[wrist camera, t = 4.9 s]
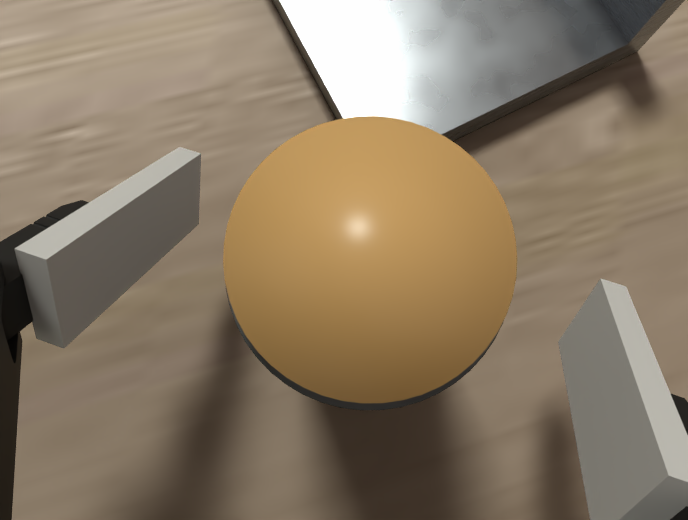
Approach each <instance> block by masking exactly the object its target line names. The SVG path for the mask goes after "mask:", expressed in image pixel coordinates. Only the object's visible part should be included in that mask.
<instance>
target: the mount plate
mask: <svg viewBox="0 0 688 520" xmlns="http://www.w3.org/2000/svg"><path fill="white" fill-rule="evenodd" d="M684 1H685V0H273V2H274V4H275V6H276V8H277V10H278V11H279V13H280V15H281V17H282V19H283V21H284V23H285V24H286V26H287V28H288V30H289V32H290V34H291V36H292V37H293V39H294V41H295V43H296V45H297V47H298V48H299V50H300V52H301V54H302V56H303V58H304V60H305V61H306V63H307V65H308V67H309V69H310V71H311V73H312V74H313V76H314V78H315V80H316V82H317V84H318V86H319V87H320V89H321V91H322V93H323V95H324V97H325V99H326V100H327V102H328V104H329V106H330V108H331V110H332V112H333V113H334V115H335V117H336V119H337V120H338V119H343V118H350V117H360V116H379V117H389V118H396V119H400V120H405V121H409V122H413V123H415V124H418V125H421V126H424V127H427V128H429V129H431V130H433V131H435V132H437V133H439V134H441V135H443V136H445V137H446V138H448V139H449V140H451V141H454V140H456V139H458V138H460V137H462V136H464V135H466V134H468V133H470V132H472V131H474V130H477V129H479V128H481V127H483V126H485V125H487V124H489V123H491V122H493V121H495V120H497V119H499V118H501V117H503V116H505V115H507V114H509V113H511V112H513V111H516V110H518V109H520V108H522V107H524V106H526V105H528V104H530V103H532V102H534V101H536V100H538V99H540V98H542V97H544V96H546V95H548V94H550V93H553V92H555V91H557V90H559V89H561V88H563V87H565V86H567V85H569V84H571V83H573V82H575V81H577V80H579V79H581V78H583V77H585V76H587V75H589V74H592V73H594V72H596V71H598V70H600V69H602V68H604V67H606V66H608V65H610V64H612V63H614V62H616V61H618V60H620V59H622V58H624V57H626V56H628V55H631V54H633V53H635V52H637V51H638V50H639V49H640V48H641V47H642V46H643V45H644V44H645V43H646V42H647V41H648V39H649V38H650V37H651V36H652V35H653V34H654V33H655V32H656V31H657V30H658V29H659V28H660V26H661V25H662V24H663V23H664V22H665V21H666V20H667V19H668V18H669V17H670V16H671V15H672V14H673V12H674V11H675V10H676V9H677V8H678V7H679V6H680V5H681V4H682V3H683V2H684Z"/></svg>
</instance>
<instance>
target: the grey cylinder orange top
mask: <svg viewBox="0 0 688 520" xmlns="http://www.w3.org/2000/svg"><path fill="white" fill-rule="evenodd" d="M223 265H224V276H225V284H226V292H227V296H228V301H229V305H230V309H231V311H232V314H233V317H234V319H235V322H236V325H237V327H238V329H239V331H240V332H241V334H242V336H243V338H244V340H245V342H246V343H247V345H248V346H249V347H250V349H251V350H252V352H253V353H254V354H255V356H256V357H257V358H258V359H259V360H260V361H261V363H262V364H263V365H264V366H265V367H266V368H267V369H268V370H269V371H270V372H271V373H272V374H274V375H275V376H276V377H277V378H279V379H280V380H281V381H282V382H284V383H285V384H286V385H288V386H290V387H291V388H293V389H295V390H296V391H298V392H300V393H301V394H303V395H305V396H308V397H310V398H312V399H315V400H317V401H320V402H322V403H326V404H329V405H333V406H337V407H341V408H348V409H356V410H385V409H391V408H398V407H403V406H407V405H410V404H413V403H417V402H420V401H423V400H425V399H427V398H429V397H431V396H434V395H436V394H438V393H440V392H441V391H443V390H445V389H446V388H448V387H450V386H451V385H453V384H454V383H456V382H457V381H458V380H459V379H461V378H462V377H463V376H464V375H465V374H467V373H468V372H469V371H470V370H471V369H472V368H473V367H474V366H475V365H476V364H477V362H478V361H479V360H480V359H481V358H482V357H483V356H484V354H485V353H486V351H487V350H488V349H489V347H490V346H491V344H492V343H493V341H494V340H495V338H496V336H497V334H498V332H499V330H500V328H501V326H502V324H503V321H504V319H505V316H506V314H507V311H508V309H509V306H510V303H511V300H512V297H513V292H514V286H515V281H516V272H517V250H516V239H515V235H514V230H513V225H512V221H511V218H510V216H509V213H508V210H507V207H506V205H505V202H504V200H503V198H502V197H501V195H500V193H499V191H498V189H497V187H496V186H495V184H494V183H493V181H492V180H491V178H490V177H489V176H488V174H487V173H486V171H485V170H484V169H483V168H482V167H481V166H480V165H479V164H478V163H477V161H476V160H475V159H474V158H473V157H472V156H470V155H469V154H468V153H467V152H466V151H465V150H463V149H462V148H461V147H460V146H459V145H457V144H456V143H454V142H452V141H451V140H449V139H448V138H446V137H445V136H443V135H441V134H439V133H437V132H435V131H433V130H431V129H429V128H427V127H424V126H421V125H418V124H415V123H413V122H409V121H405V120H400V119H396V118H389V117H379V116H360V117H350V118H343V119H338V120H334V121H330V122H327V123H323V124H320V125H318V126H315V127H313V128H310V129H308V130H305V131H303V132H302V133H300V134H298V135H296V136H294V137H293V138H291V139H289V140H288V141H286V142H285V143H284V144H282V145H281V146H279V147H278V148H277V149H275V150H274V151H273V152H272V153H271V154H270V155H269V156H268V157H267V158H266V159H265V160H264V161H262V162H261V164H260V165H259V166H258V167H257V168H256V170H255V171H254V172H253V173H252V175H251V176H250V177H249V179H248V180H247V182H246V184H245V185H244V187H243V188H242V190H241V191H240V194H239V196H238V198H237V200H236V202H235V204H234V207H233V209H232V212H231V215H230V218H229V222H228V225H227V230H226V235H225V241H224V257H223Z"/></svg>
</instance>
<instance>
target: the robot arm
mask: <svg viewBox="0 0 688 520" xmlns="http://www.w3.org/2000/svg"><path fill="white" fill-rule="evenodd" d="M200 167H201V153H198V152H194V151H191V150H188V149H185V148H182V147H178V148H177V149H175V150H174V151H172V152H170V153H169V154H167V155H165V156H164V157H162V158H161V159H159V160H157V161H156V162H154V163H153V164H151V165H149V166H148V167H146V168H144V169H143V170H141V171H140V172H138V173H136V174H135V175H133V176H131V177H130V178H128V179H127V180H125V181H123V182H122V183H120V184H118V185H117V186H115V187H114V188H112V189H110V190H109V191H107V192H105V193H104V194H102V195H101V196H99V197H97V198H96V199H94V200H93V201H91V202H86V201H83V200H81V201H77V202H74V203H70V204H67V205H63V206H61V207H59V208H57V209H56V210H54V211H52V212H50V213H49V214H47V216H46V217H42V218H40V219H39V220H37V221H35V222H34V224H30V225H28V226H27V227H25V228H23V229H21V230H20V231H18V232H16V233H15V234H13V235H11V236H9V237H8V238H6V239H4V240H3V241H1V242H0V520H11V519H12V503H13V486H14V469H15V453H16V436H17V419H18V403H19V386H20V369H21V353H22V338H21V334H20V331H21V330H22V329H23V328H24V327H26V326H27V325H28V324H29V323H31V322H33V327H34V331H35V335H36V338H37V339H39V340H42V341H45V342H48V343H50V344H53V345H56V346H59V347H61V348H65V347H66V346H67V345H68V344H69V343H70V342H72V341H73V340H74V339H75V338H76V337H77V336H78V335H79V334H80V333H81V332H82V331H83V330H85V329H86V328H87V327H88V326H89V325H90V324H91V323H92V322H93V321H94V320H95V319H96V318H98V317H99V316H100V315H101V314H102V313H103V312H104V311H105V310H106V309H107V308H108V307H109V306H111V305H112V304H113V303H114V302H115V301H116V300H117V299H118V298H119V297H120V296H121V295H122V294H124V293H125V292H126V291H127V290H128V289H129V288H130V287H131V286H132V285H133V284H134V283H135V282H137V281H138V280H139V279H140V278H141V277H142V276H143V275H144V274H145V273H146V272H147V271H148V270H150V269H151V268H152V267H153V266H154V265H155V264H156V263H157V262H158V261H159V260H160V259H161V258H162V257H164V256H165V255H166V254H167V253H168V252H169V251H170V250H171V249H172V248H173V247H174V246H175V245H177V244H178V243H179V242H180V241H181V240H182V239H183V238H184V237H185V236H186V235H187V234H188V233H190V232H191V231H192V230H193V229H194V228H195V227H196V226H197V225H198V224H199V199H200ZM558 343H559V349H560V354H561V360H562V366H563V371H564V377H565V382H566V388H567V393H568V399H569V405H570V410H571V416H572V421H573V427H574V432H575V438H576V444H577V449H578V455H579V460H580V466H581V471H582V477H583V483H584V488H585V494H586V499H587V505H588V510H589V516H590V520H688V402H687V401H686V400H685V398H682V397H679V396H676V395H673V394H670V391H669V389H668V387H667V384H666V382H665V379H664V377H663V375H662V372H661V370H660V367H659V365H658V363H657V360H656V358H655V355H654V353H653V350H652V348H651V346H650V343H649V341H648V338H647V336H646V334H645V331H644V329H643V326H642V324H641V322H640V319H639V317H638V314H637V312H636V309H635V307H634V305H633V302H632V300H631V297H630V295H629V293H628V290H627V288H626V286H623V285H620V284H617V283H613V282H610V281H607V280H604V279H600V280H599V282H598V283H597V285H596V286H595V288H594V289H593V291H592V292H591V294H590V295H589V297H588V298H587V300H586V301H585V303H584V304H583V306H582V307H581V309H580V310H579V312H578V313H577V315H576V316H575V318H574V319H573V321H572V322H571V324H570V325H569V327H568V328H567V330H566V331H565V333H564V334H563V336H562V337H561V339H560V340H559V342H558Z"/></svg>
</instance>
